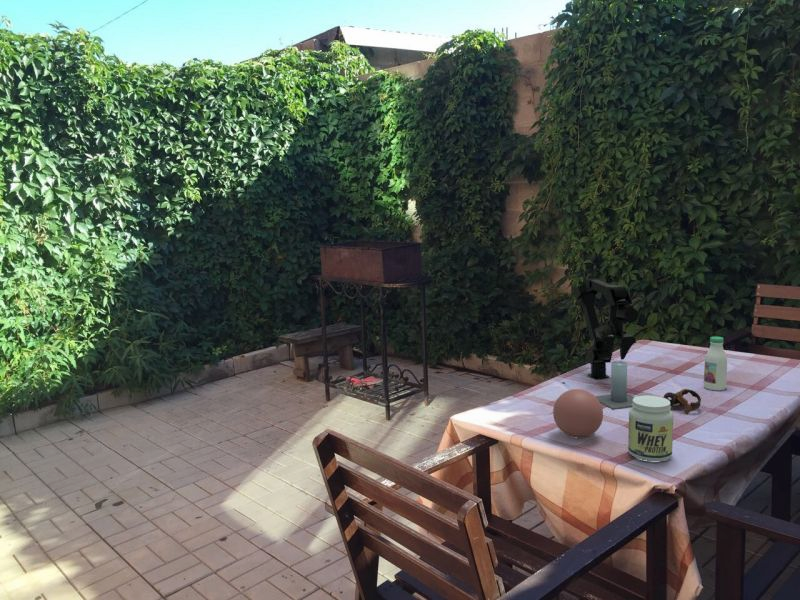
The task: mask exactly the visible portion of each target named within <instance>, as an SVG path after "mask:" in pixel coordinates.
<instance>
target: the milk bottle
mask: <svg viewBox="0 0 800 600" xmlns="http://www.w3.org/2000/svg"><path fill="white" fill-rule="evenodd" d="M724 342H725V341H724V337H723V336H710V338H709V343H710V345H709V348H708V351H707V352H706V354H705V359H704V371H703V372H704V374H703V376H704V377H703V388H704V389H707V390H709V391H720V392H721V391H724V390H726V388H727V374H728V358H727V354H726V352H725V349H724V346H723V345H724Z"/></svg>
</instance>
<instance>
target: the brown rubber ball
mask: <svg viewBox="0 0 800 600" xmlns="http://www.w3.org/2000/svg"><path fill="white" fill-rule="evenodd" d="M603 411H604V410H603V407H602V404H601V403H600V402H599V400H598V399H597V398H596V397H595V395H594V394H593V393H591V392H589V391H587V390H584V389H582V388H581V389H579V388H575V389H570V390H567V391H565V392H563V393H562V394H560V395H559V396H558V398H557V399H556V400H555V402H554V405H553V410H552V416H553V420H554V422H555V424H556V426H557V428H558V429H559V430H560V431H561V432H562V433H564V434H565V435H567V436H568V437H570V438H571V437H572V438H574V437H577V438H576V439H581V438H582V439H584V438H587V437H588V438H589V437H590V436H592V435H593V434H595V433H596V432H597V431H598V430H599V429H600V427H601V425H602V424H603V423H602V422H603V418H604V412H603Z"/></svg>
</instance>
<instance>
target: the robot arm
mask: <svg viewBox="0 0 800 600" xmlns="http://www.w3.org/2000/svg"><path fill="white" fill-rule="evenodd" d="M598 294H602V295H604V298H605V299H606V300H607V302H606V305H607V306H608V319H606V320H605V323H604V324H603V325H601V326H600V322H599V318H598V313H597V310H596V306H595V304H596V301H597V296H598ZM573 295H574V296H573V297H574V299H575V301H576V304H577V306H579V307H580V308H581V309H582V311H583V315H584V319H585V323H586V326H587V330H588V334H589V337H590V344H589V348H588V349H589V352H588V353H587V354H586V356H585V360H586V362H587V363H588V364H590V373H588V374H587V376H588V375H589V377H590V376H591V378H592V377H593V379H594V378H595V379H594V380H599V379H598V378H601V379H607V378H608V377H609V378H610V376H609V375H608V374H607V363H608V364H609V363H610V364H611V362H612V361H611V360H612V356H613V347H614V344H615V341H616V345H617V346H618V347H619V354H620V355H619V356H620V361H622V360H624V359H625V358H626V356H627V355H628V353H629V351H630V349H631V348H632V346H634V345H635V344H637V337H636V336H635V335H632V334H630V333H629V334H627V331H626V330H625V324H628V323H629V324H633V323H635V322H637V320H638V318H639V312H638V310H637V309H636V308H635V307H634V304H633V302H632V300H633V299H632V298H631V295H630V293H629V290H628V289H627V287H626V286H625V285H620V284H618V285H616V284H615V285H612V284H610V283H607V282H605V281H602V280H600V279H599V278H588V279H586V280H585V281H584V282H583V283H582V284H581V285H579V286H577V288H576V289H575V290H574V293H573Z"/></svg>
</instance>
